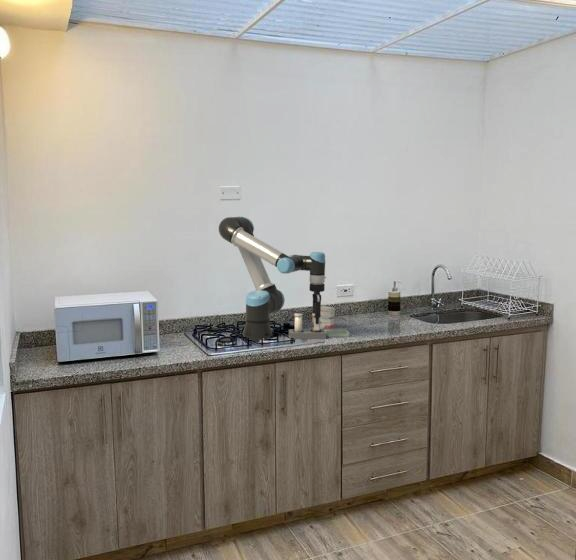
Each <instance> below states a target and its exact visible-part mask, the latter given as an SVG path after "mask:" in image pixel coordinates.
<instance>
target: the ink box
mask: <svg viewBox="0 0 576 560" xmlns="http://www.w3.org/2000/svg"><path fill="white" fill-rule="evenodd" d="M335 309H336V308H335V307H331V306H324V305H321V313H320V314H321V317H320V329H335V311H336V310H335Z"/></svg>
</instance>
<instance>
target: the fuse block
mask: <svg viewBox="0 0 576 560" xmlns="http://www.w3.org/2000/svg"><path fill="white" fill-rule="evenodd" d="M324 330H325V328H320V332H312V328H310V329H309V328H302V332H295V328H294V329H293V328H290V329H288V337H289V340H292V339H291V338H294V339H293V340H326V339H327V337H326V332H325V331H324Z"/></svg>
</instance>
